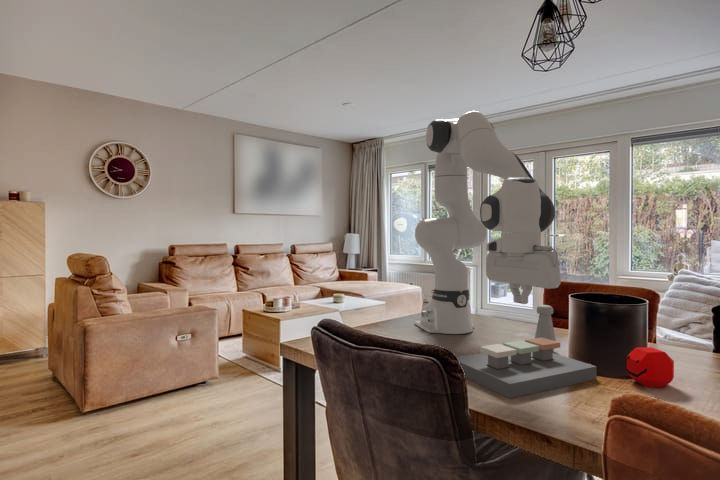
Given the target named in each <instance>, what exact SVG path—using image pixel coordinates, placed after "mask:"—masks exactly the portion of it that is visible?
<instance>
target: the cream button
mask: <svg viewBox="0 0 720 480" xmlns="http://www.w3.org/2000/svg"><path fill="white" fill-rule="evenodd" d="M479 349H480V350H479V351H480V353H485V354H488V365H489V366H491V367H494V368H496V369H501V368H506V367H508V356H513V355H516V349H513V348H510V347H507V346H504V345H503V344H500V343H495V344H489V345H482V346H480V348H479Z"/></svg>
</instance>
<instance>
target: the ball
mask: <svg viewBox="0 0 720 480" xmlns="http://www.w3.org/2000/svg"><path fill="white" fill-rule="evenodd" d="M626 374H628V375H629V376H630V378H632V379H633V381H634V382H636V383H638V384H641V385H643V386H644V387H647V388H666V386H667V385H669V384H670V383H671V382H673V380H674V378H675V376H674V375H675V361H674V360H673V358H671V356H669V354H668V353H667V352H665V351H663V350H660V349H657V348H654V347H653V346H651V347H650V346H649V347H647V346H645V347H635V348H634V349H633V350H631V352H630V353H629V354H628V355H627V357H626Z"/></svg>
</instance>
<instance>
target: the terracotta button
mask: <svg viewBox="0 0 720 480" xmlns="http://www.w3.org/2000/svg"><path fill="white" fill-rule="evenodd" d="M524 342H527V343H531V344H534V345H537V346H539V351H536V352H533V358H536V359H539V360H542V361H545V360H550V359H553V353H554V351H553V349H554V348H555V349H560V348H561V342H560V341H557V340H556V341H553V340H549V339H546V338H542V337H541V338H535V337H534V338H528V339H525V340H524ZM555 349H554V350H555Z"/></svg>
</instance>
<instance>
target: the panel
mask: <svg viewBox="0 0 720 480" xmlns="http://www.w3.org/2000/svg"><path fill="white" fill-rule="evenodd" d="M456 357H457V358H458V360H459V362H460V365H461V366H462V368H463V370H464V373H465V376H466V377H465V378H466V379H469V380H471V381H472V382H475V383H477V384H479V385H481V386H482V387H486V388H487V389H490V390H491V391H494V393H497V394H499V395H502V396H503V397H505V398H508V399H514V398H518V397H524V396H528V395H533V394H537V393H541V392H547V391H549V390H554V389H559V388H563V387H567V386H568V387H570V386H572V385H577V384H581V383H585V382H586V383H587V382H590V381H595V380H597V373H598V372H597V366H596V365H593V364H591V363H587V362H583V361H581V360H577V359H574V358H571V357H567V356H565V355H560V354H558V353H554V352H553V359H550V360H545V361H542V360H539V359H536V358H533V352H531V363H528V364H523V365H520V364H517V363H515V362H512V361H511V356H508V367H506V368H501V369H496V368H494V367H491V366H489V365H488V354H485V353H482V352H480V353H475V354H466V355H461V356H456Z"/></svg>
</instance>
